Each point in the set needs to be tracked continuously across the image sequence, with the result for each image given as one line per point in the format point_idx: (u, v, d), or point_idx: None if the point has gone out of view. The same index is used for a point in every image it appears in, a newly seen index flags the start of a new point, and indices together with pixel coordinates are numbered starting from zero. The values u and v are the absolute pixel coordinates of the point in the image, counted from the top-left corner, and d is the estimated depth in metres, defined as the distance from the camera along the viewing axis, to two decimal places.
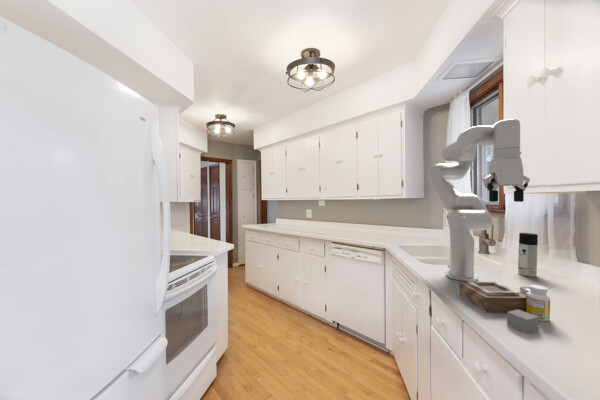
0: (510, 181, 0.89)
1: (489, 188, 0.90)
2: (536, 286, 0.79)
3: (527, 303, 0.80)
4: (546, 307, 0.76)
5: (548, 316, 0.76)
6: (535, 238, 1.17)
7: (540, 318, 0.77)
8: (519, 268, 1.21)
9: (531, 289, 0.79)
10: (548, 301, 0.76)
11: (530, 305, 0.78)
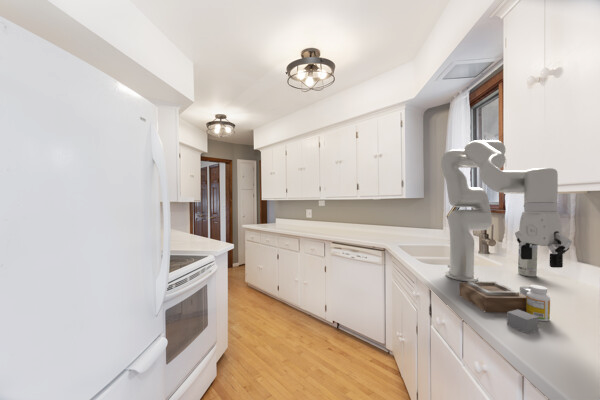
0: None
1: (562, 252, 0.71)
2: (536, 286, 0.79)
3: (527, 303, 0.80)
4: (546, 307, 0.76)
5: (548, 316, 0.76)
6: None
7: (540, 318, 0.77)
8: (519, 268, 1.21)
9: (531, 289, 0.79)
10: (548, 301, 0.76)
11: (530, 305, 0.78)
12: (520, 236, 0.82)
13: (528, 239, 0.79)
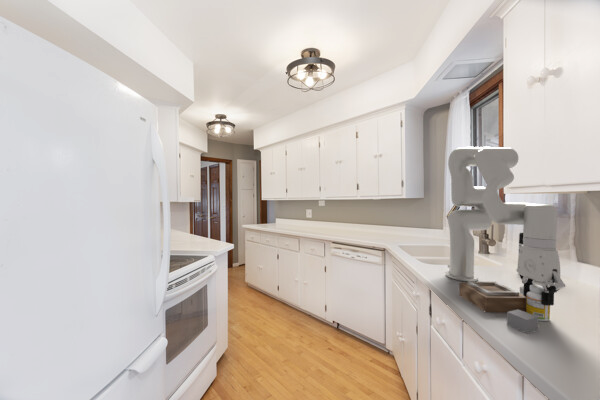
0: None
1: (553, 291, 0.74)
2: (536, 286, 0.79)
3: (527, 303, 0.80)
4: (546, 307, 0.76)
5: (548, 316, 0.76)
6: None
7: (540, 318, 0.77)
8: None
9: (531, 289, 0.79)
10: None
11: (530, 305, 0.78)
12: (518, 269, 0.83)
13: (526, 273, 0.80)
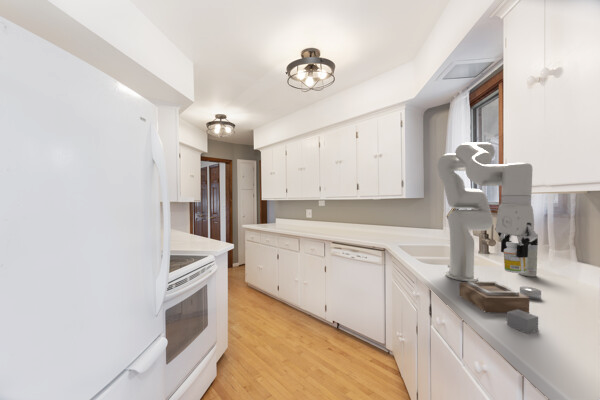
0: None
1: (527, 243, 0.79)
2: (512, 242, 0.84)
3: (504, 259, 0.84)
4: (521, 260, 0.81)
5: (524, 268, 0.81)
6: None
7: (517, 270, 0.81)
8: None
9: (507, 244, 0.84)
10: None
11: (507, 260, 0.83)
12: (497, 227, 0.87)
13: (504, 229, 0.84)
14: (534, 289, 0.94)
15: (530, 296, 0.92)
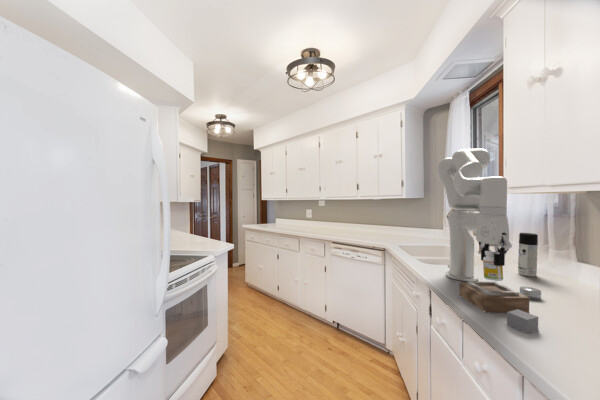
0: None
1: (503, 252, 0.84)
2: (490, 251, 0.89)
3: (483, 267, 0.89)
4: (498, 268, 0.86)
5: (501, 276, 0.85)
6: (535, 238, 1.17)
7: (494, 278, 0.86)
8: (519, 268, 1.21)
9: (485, 253, 0.89)
10: None
11: (485, 268, 0.88)
12: (477, 236, 0.92)
13: (482, 239, 0.89)
14: (534, 289, 0.94)
15: (530, 296, 0.92)
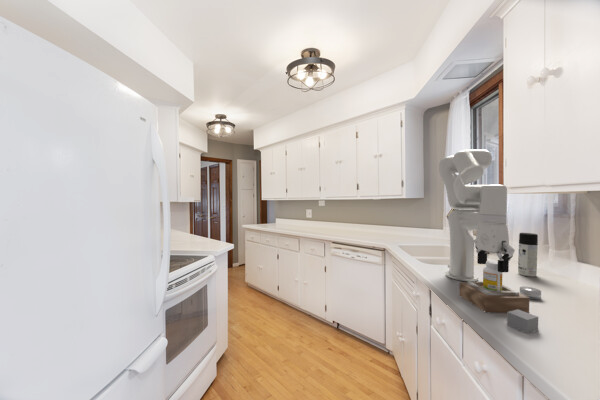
0: None
1: (507, 259, 0.82)
2: (491, 262, 0.89)
3: (483, 277, 0.89)
4: (498, 280, 0.86)
5: (500, 287, 0.86)
6: (535, 238, 1.17)
7: (493, 289, 0.86)
8: (519, 268, 1.21)
9: (486, 264, 0.89)
10: (500, 274, 0.86)
11: (485, 279, 0.88)
12: (476, 243, 0.92)
13: (482, 246, 0.89)
14: (534, 289, 0.94)
15: (530, 296, 0.92)
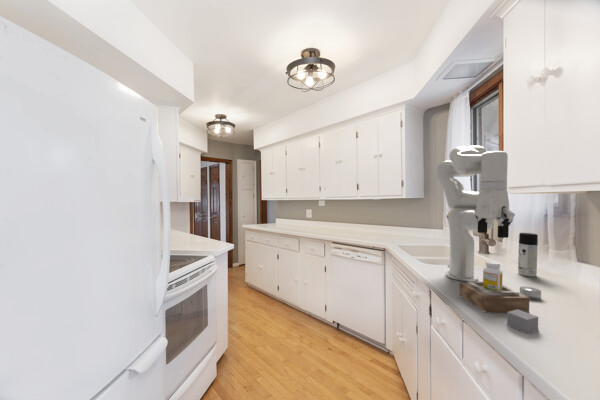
0: None
1: (507, 224, 0.82)
2: (491, 262, 0.89)
3: (483, 277, 0.89)
4: (498, 280, 0.86)
5: (500, 287, 0.86)
6: (535, 238, 1.17)
7: (493, 289, 0.86)
8: (519, 268, 1.21)
9: (486, 264, 0.89)
10: (500, 274, 0.86)
11: (485, 279, 0.88)
12: (477, 212, 0.93)
13: (482, 214, 0.90)
14: (534, 289, 0.94)
15: (530, 296, 0.92)
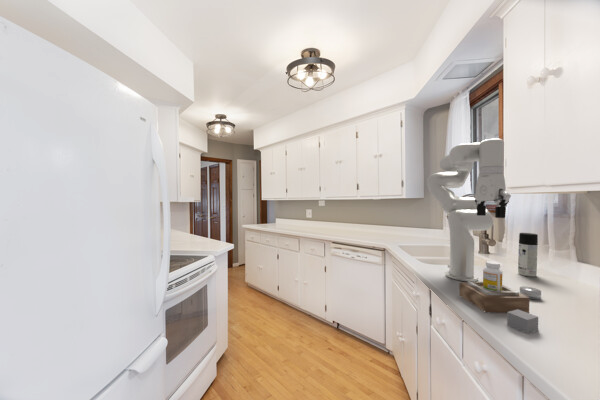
0: None
1: (504, 204, 0.89)
2: (491, 262, 0.89)
3: (483, 277, 0.89)
4: (498, 280, 0.86)
5: (500, 287, 0.86)
6: (535, 238, 1.17)
7: (493, 289, 0.86)
8: (519, 268, 1.21)
9: (486, 264, 0.89)
10: (500, 274, 0.86)
11: (485, 279, 0.88)
12: (476, 196, 1.00)
13: (481, 197, 0.97)
14: (534, 289, 0.94)
15: (530, 296, 0.92)
